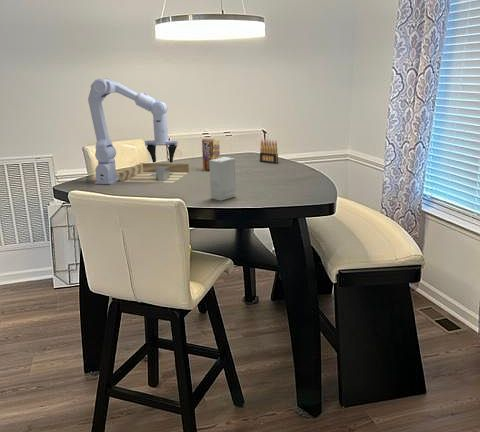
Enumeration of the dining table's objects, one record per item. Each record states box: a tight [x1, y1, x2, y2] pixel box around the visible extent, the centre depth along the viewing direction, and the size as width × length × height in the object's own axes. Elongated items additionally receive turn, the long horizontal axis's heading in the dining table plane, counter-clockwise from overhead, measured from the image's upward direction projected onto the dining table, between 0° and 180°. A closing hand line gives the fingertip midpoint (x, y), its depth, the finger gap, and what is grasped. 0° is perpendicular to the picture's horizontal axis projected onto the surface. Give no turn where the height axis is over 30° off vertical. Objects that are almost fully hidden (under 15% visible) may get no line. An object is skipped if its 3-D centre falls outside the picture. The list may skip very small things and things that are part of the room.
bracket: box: [156, 167, 170, 182], centre depth 223 cm, size 8×6×5 cm
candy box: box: [201, 138, 221, 173], centre depth 242 cm, size 9×4×15 cm, turn 39°
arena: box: [119, 162, 190, 184], centre depth 229 cm, size 24×24×5 cm
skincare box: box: [209, 156, 237, 201], centre depth 189 cm, size 8×6×15 cm
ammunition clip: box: [259, 139, 279, 165], centre depth 261 cm, size 11×2×12 cm, turn 49°
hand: (162, 162), depth 220 cm, fingers open, 7 cm apart
